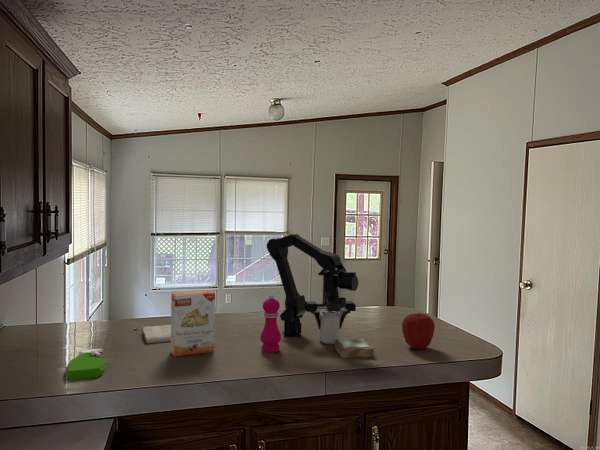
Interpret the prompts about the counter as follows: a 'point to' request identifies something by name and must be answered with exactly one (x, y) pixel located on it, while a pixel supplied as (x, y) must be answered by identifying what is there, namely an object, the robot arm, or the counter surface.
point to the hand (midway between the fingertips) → (329, 328)
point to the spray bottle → (85, 365)
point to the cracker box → (192, 322)
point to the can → (329, 326)
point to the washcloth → (157, 334)
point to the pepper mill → (270, 326)
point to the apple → (418, 330)
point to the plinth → (354, 348)
